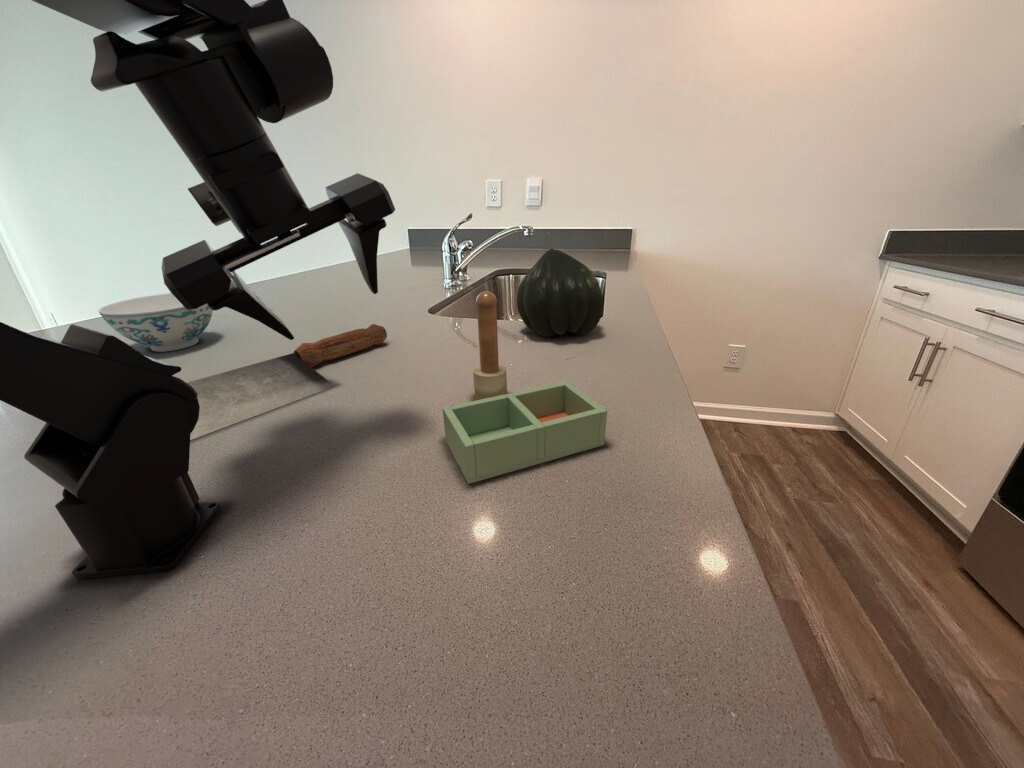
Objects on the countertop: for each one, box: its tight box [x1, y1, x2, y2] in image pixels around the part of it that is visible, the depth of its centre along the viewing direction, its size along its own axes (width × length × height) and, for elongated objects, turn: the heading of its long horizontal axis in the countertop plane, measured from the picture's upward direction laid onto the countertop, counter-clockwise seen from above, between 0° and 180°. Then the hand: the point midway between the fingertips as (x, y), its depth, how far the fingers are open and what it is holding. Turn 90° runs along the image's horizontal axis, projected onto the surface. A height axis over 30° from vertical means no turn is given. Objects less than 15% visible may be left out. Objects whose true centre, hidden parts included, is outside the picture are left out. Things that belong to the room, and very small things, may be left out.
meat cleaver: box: [186, 323, 388, 441], centre depth 56 cm, size 34×11×4 cm, turn 142°
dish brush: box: [472, 290, 508, 401], centre depth 48 cm, size 4×4×13 cm
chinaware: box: [98, 292, 214, 353], centre depth 70 cm, size 15×15×8 cm
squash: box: [516, 248, 604, 338], centre depth 72 cm, size 14×15×15 cm
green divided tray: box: [442, 380, 608, 485], centre depth 41 cm, size 14×8×4 cm, turn 114°
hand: (334, 314), depth 41 cm, fingers open, 9 cm apart
